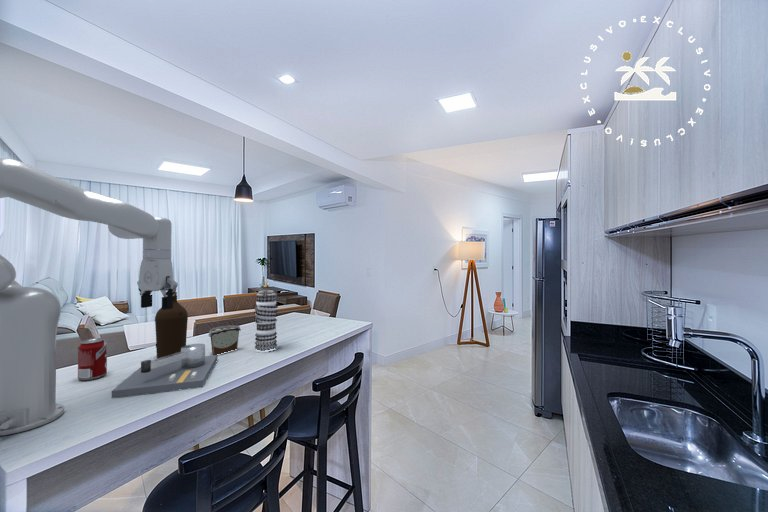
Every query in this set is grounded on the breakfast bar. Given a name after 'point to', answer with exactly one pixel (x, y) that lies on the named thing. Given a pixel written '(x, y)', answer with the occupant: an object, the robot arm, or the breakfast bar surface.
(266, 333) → the decorative candle
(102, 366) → the soda can
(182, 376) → the grey flat square slab
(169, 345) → the olive oil
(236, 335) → the food container
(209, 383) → the breakfast bar surface
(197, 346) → the metal ladle
